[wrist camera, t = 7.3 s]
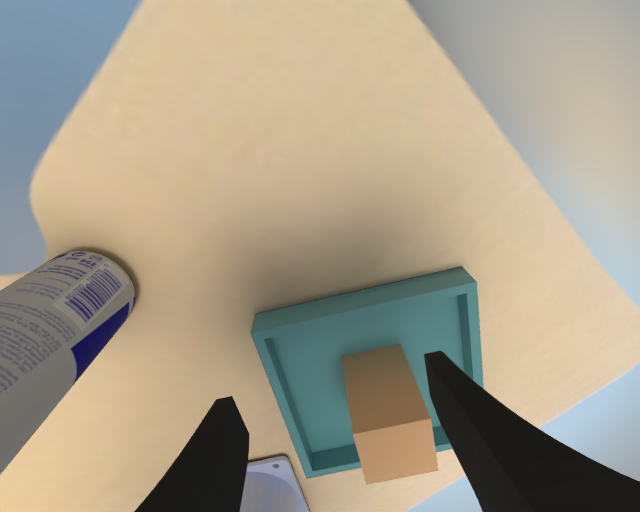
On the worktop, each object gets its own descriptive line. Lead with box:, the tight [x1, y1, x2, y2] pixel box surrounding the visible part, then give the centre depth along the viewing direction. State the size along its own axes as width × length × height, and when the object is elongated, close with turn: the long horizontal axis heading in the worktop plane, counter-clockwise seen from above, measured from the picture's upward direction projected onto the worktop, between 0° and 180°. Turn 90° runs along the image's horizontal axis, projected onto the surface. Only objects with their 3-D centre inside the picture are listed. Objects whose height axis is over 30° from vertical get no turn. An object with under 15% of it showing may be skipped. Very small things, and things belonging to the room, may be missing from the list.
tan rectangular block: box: [341, 344, 438, 485], centre depth 21 cm, size 4×4×6 cm
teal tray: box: [251, 267, 484, 478], centre depth 24 cm, size 13×13×2 cm
